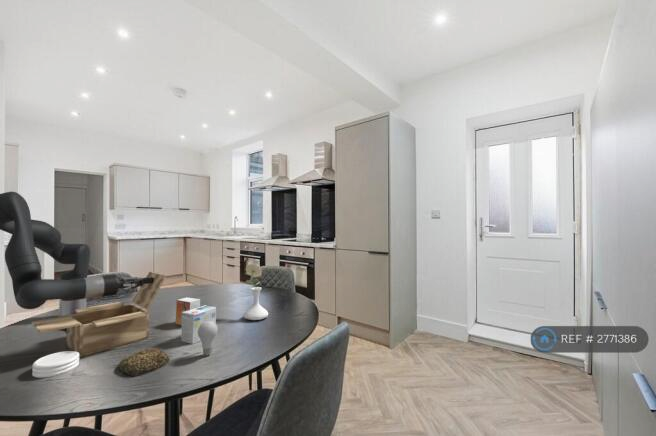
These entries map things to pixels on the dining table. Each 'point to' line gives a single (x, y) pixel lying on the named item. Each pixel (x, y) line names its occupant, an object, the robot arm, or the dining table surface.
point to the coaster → (55, 364)
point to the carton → (100, 327)
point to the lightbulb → (207, 335)
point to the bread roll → (143, 362)
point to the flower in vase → (255, 296)
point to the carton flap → (149, 290)
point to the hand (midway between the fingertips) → (152, 279)
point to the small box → (185, 307)
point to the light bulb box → (196, 322)
